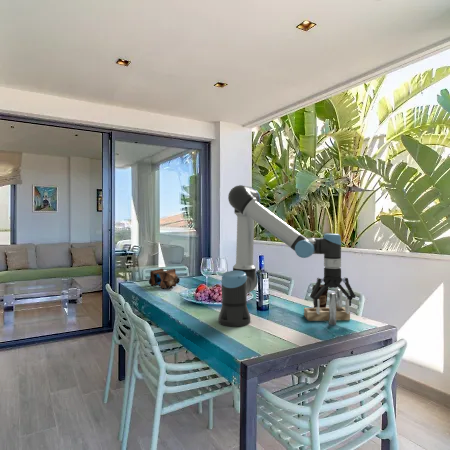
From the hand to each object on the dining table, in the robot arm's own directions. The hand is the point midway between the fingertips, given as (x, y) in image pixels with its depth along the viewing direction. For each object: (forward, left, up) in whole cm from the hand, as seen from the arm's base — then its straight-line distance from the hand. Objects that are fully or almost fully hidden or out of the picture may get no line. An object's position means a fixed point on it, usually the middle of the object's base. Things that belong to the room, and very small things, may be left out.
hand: (332, 313), depth 159 cm
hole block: (0, +9, -5) cm, 10 cm away
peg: (0, 0, -5) cm, 5 cm away
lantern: (-90, +85, -5) cm, 124 cm away
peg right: (+6, +9, -5) cm, 12 cm away
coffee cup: (+1, +23, -5) cm, 24 cm away
